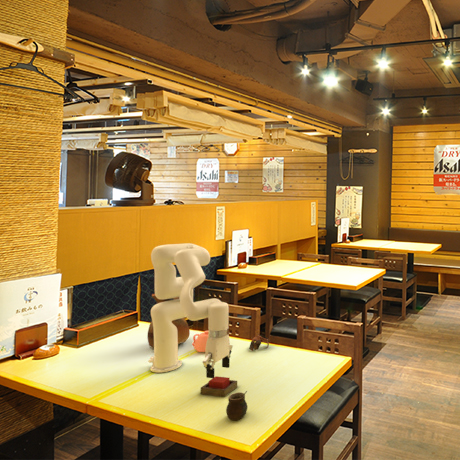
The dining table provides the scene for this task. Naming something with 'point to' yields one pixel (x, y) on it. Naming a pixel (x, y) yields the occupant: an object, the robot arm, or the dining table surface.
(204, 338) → the sugar bowl
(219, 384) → the red block
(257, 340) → the pottery mug
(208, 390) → the brown shallow rectangular box
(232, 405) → the mate gourd
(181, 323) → the ceramic pitcher
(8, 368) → the dining table surface
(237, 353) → the dining table surface
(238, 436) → the dining table surface
